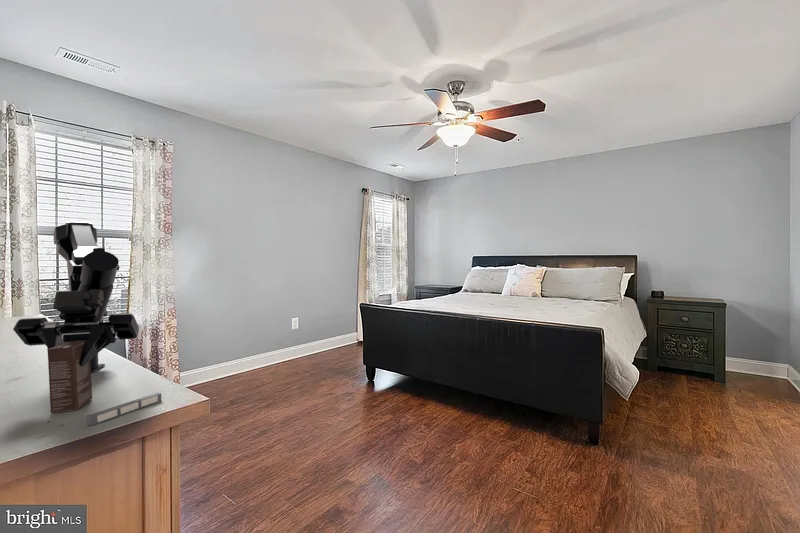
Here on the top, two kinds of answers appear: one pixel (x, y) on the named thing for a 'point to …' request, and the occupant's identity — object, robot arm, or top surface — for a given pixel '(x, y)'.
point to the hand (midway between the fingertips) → (66, 366)
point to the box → (68, 377)
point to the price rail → (123, 409)
